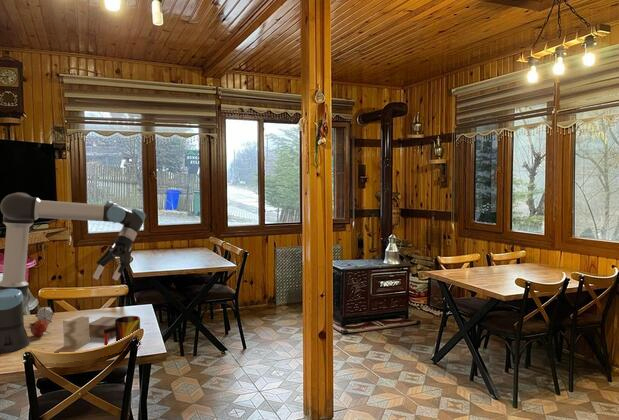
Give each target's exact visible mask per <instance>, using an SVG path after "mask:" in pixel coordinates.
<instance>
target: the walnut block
mask: <svg viewBox="0 0 619 420" xmlns="http://www.w3.org/2000/svg"><path fill="white" fill-rule="evenodd" d="M120 317H121V316H120ZM120 317H118V316H102V317H100V318H97V319H95V320H94V321H93V320H92V321H91V322H89V335H90V338H99V339H104V329H108V328H112V327H115V320H116V319H117V318H120ZM107 336H108V339H114V338H116V331H114V332H110V333H107Z"/></svg>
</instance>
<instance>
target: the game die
mask: <svg viewBox="0 0 619 420" xmlns="http://www.w3.org/2000/svg"><path fill="white" fill-rule="evenodd" d="M54 315H55V312H54V311H53V310H52V307H51V305H49V306H45V307H44V306H43V307H40V306H38V311H37V313H36V314H35V315H34V317H36V318H37V321H38V320H45V321H47V322H50V323H52V319H53V316H54Z"/></svg>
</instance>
